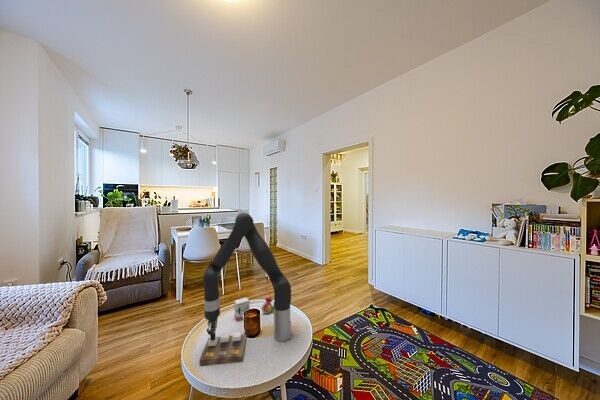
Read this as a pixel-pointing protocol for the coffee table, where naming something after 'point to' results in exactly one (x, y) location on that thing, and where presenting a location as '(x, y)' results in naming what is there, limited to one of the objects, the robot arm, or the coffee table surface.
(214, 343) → the key
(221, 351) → the switch board
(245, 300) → the ink box
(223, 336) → the middle key
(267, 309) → the bird rattle
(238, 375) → the coffee table surface
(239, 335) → the key
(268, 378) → the coffee table surface
